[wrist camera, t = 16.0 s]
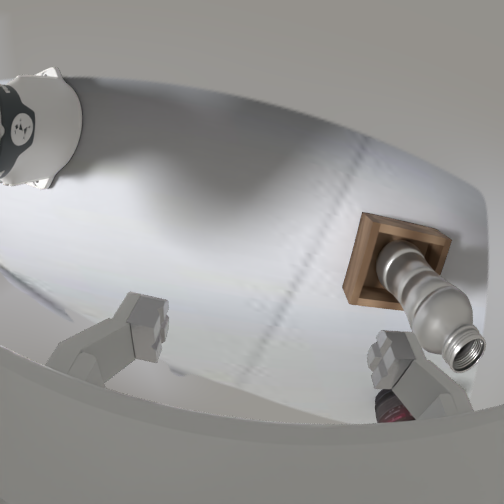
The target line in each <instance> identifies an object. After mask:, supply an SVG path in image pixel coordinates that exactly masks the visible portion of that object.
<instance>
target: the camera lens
mask: <svg viewBox="0 0 504 504" xmlns="http://www.w3.org/2000/svg"><path fill="white" fill-rule="evenodd" d="M375 404H376V405H375V412H376V419H377V422H378V423H390V422H402V421H413V420H416V419H415V418H414V417H413V416H412V414H411V413H410V412H409V411H408V409H407V408H406V407H405V406H404V404H403V403H402V402H401V401H400V400H399V398H398V397H397V396H396V395H395V393H394V392H393V391H392V389H383V390H381V391H380V392H379V393H378V395H377V396H376V399H375Z"/></svg>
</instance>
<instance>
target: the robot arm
mask: <svg viewBox="0 0 504 504" xmlns="http://www.w3.org/2000/svg"><path fill="white" fill-rule="evenodd" d="M81 127H82V111H81V105H80V102H79V99H78V96H77V94H76V93H75V91H74V90H73V89H72V88H71V87H70V86H69V85H68V84H67V83H66V82H65V81H64V80H63V77H62V75H61V72H60V70H59V68H57V67H50V68H48V69H46V70H44V71H42V72H40V73H38V74H36V75H19V76H17V77H16V78H15V79H13V80H11V81H10V82H8V83H7V84H6V85H2V84H0V183H3V185H5V186H8V185H10V186H17V185H21V184H28V185H30V186H33V187H35V188H38V189H41V190H43V189H47V188H49V186H50V185H51V183H52V181H53V179H54V176H55V175H56V173H57V172H58V171H59V170H61V169H62V168H63V167H64V166H65V165H66V164H67V163H68V161H69V160H70V159H71V157H72V155H73V154H74V152H75V149H76V147H77V145H78V142H79V138H80V134H81ZM168 309H169V302H168V300H166V299H161V298H157V297H152V296H148V295H144V294H138V293H134V292H129V293H127V295H126V296H125V298H124V300H123V301H122V303H121V305H120V306H119V308H118V310H117V311H116V313H115V315H114V316H113V318H112V319H110V318H108V319H106V320H104V321H102V322H100V323H98V324H96V325H94V326H92V327H90V328H88V329H86V330H84V331H82V332H80V333H78V334H76V335H74V336H72V337H70V338H68V339H66V340H64V341H62V342H60V343H59V344H58V346H57V347H56V349H55V350H54V352H53V353H52V355H51V357H50V358H49V360H48V362H47V363H46V365H42V364H40V363H38V362H35V361H33V360H31V359H29V358H27V357H24V356H22V355H20V354H18V353H16V352H14V351H12V350H10V349H8V348H6V347H4V346H2V345H0V504H504V404H503V405H499V406H495V407H491V408H486V409H482V410H477V411H474V410H473V408H472V406H471V403H470V401H469V398H468V396H467V394H466V391H465V390H464V389H463V388H462V387H460V386H459V385H458V384H457V383H456V382H455V381H454V380H452V379H451V378H450V377H449V376H448V375H447V374H445V373H444V372H443V371H442V370H441V369H440V368H438V367H437V366H436V365H435V364H434V363H433V362H431V361H430V360H427V359H426V357H425V355H424V353H423V350H422V348H421V346H420V344H419V342H418V339H417V337H416V335H415V334H414V333H413V332H399V331H385V330H381V331H380V332H379V333H378V335H377V336H376V339H377V342H376V343H374V344H373V345H371V347H370V349H369V351H368V356H367V363H368V367H369V368H370V369H371V370H372V371H373V373H372V375H371V378H372V382H373V385H374V389H392V391H393V392H394V393H395V395H396V396H397V397H398V398H399V400H400V401H401V402H402V403H403V404H404V406H405V407H406V408H407V409H408V411H409V412H410V413H411V414H412V416H413V417H414V418H415V419H416V420H413V421H402V422H390V423H372V424H305V423H304V424H303V423H287V422H274V421H264V420H254V419H246V418H238V417H230V416H224V415H218V414H211V413H205V412H200V411H195V410H189V409H184V408H180V407H175V406H170V405H166V404H162V403H157V402H153V401H149V400H145V399H142V398H137V397H134V396H131V395H127V394H124V393H120V392H117V391H114V390H110V389H107V388H105V384H104V383H105V382H107V381H108V380H109V379H111V378H112V377H113V376H114V375H115V374H117V373H118V372H120V371H121V370H122V369H124V368H125V367H126V366H128V365H129V364H130V363H132V362H133V361H134V360H135V359H140V360H144V361H149V362H154V363H157V362H158V359H159V356H160V353H161V351H162V346H161V343H163V342H165V340H166V337H167V333H168V328H169V317H168V316H167V312H168Z"/></svg>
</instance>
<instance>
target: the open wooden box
mask: <svg viewBox="0 0 504 504" xmlns="http://www.w3.org/2000/svg"><path fill="white" fill-rule="evenodd" d="M395 240H405V241H408V242H410V243H412V244H414V245H415V246H416V247H418V249H419V250H420V252H421V253H422V254H423V256H424V258H425V260H426V261H427V263H428V264H429V265H430V266H431V268H432V269H433V270H434V271H435V272H436V273H437V274H438V275H440V274H441V271H442V268H443V266H444V263H445V260H446V257H447V254H448V251H449V248H450V245H451V241H452V240H451V239H450V238H448V237H447V236H446V235H444V234H443V233H441V232H440V231H438V230H437V229H434V228H430V227H426V226H422V225H417V224H413V223H409V222H405V221H401V220H396V219H392V218H387V217H383V216H378V215H374V214H369V213H364V212H362V215H361V219H360V223H359V227H358V231H357V235H356V239H355V243H354V247H353V251H352V254H351V258H350V262H349V265H348V269H347V272H346V276H345V279H344V283H343V286H342V288H343V290H344V293H345V295H346V298H347V300H348V303H349V304H352V305H360V306H368V307H376V308H384V309H393V310H402V311H404V310H403V308H402V306H401V304H400V303H399V301H398V300H397V299H396V298H395V297H394V296H393V294H391V293H390V292H389V291H387V290H386V289H385V288H384V287H383V286H382V284H381V283H380V281H379V279H378V275H377V272H376V260H377V257H378V255H379V253H380V251H381V250H382V249H383V248H384V247H385V246H386V245H387V244H388V243H390V242H392V241H395Z"/></svg>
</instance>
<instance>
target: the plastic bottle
mask: <svg viewBox="0 0 504 504" xmlns="http://www.w3.org/2000/svg"><path fill="white" fill-rule="evenodd" d="M376 272H377V275H378V279H379V281H380V283H381V284H382V286H383V287H384V288H385V289H386V290H387V291H389V292H390V293H391V294H393V296H394V297H395V298H396V299H397V300H398V301H399V303H400V304H401V306H402V308H403V310H404V312H405V314H406V316H407V318H408V321H409V324H410V327H411V329H412V332H413V333H414V334H415V335H416V337H417V339H418V342H419V344H420V346H421V347H422V348H423V349H425V350H426V351H428V352H430V353H434V354H442V357H443V359H444V360H445V362H446V363H448V364H449V366H450V368H451V369H452V370H453V371H454V372H456V373H462V372H465V371H467V370H469V369H471V368H472V367H473V366H474V365H476V364H477V363H478V361H479V360H480V359H481V357H482V356H483V354H484V351H485V347H486V342H485V340H484V338H483V337H482V336H481V334H480V333H479V331H478V329H477V328H476V327H475V326H474V325H473V311H472V307H471V304H470V301H469V299H468V297H467V296H466V295H465V294H464V293H463V292H462V291H461V290H460V289H458V288H457V287H455V286H454V285H452V284H451V283H449V282H448V281H446V280H445V279H443V278H442V277H441V276H440V275H438V274H437V273H436V272H435V271H434V270H433V269H432V268H431V266H430V265H429V264H428V263H427V261H426V260H425V258H424V256H423V254H422V253H421V252H420V250H419V249H418V247H416V246H415V245H414V244H412V243H410V242H408V241H405V240H395V241H392V242H390V243H388V244H387V245H386V246H385V247H384V248H383V249H382V250H381V251H380V253H379V255H378V257H377V260H376Z"/></svg>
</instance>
